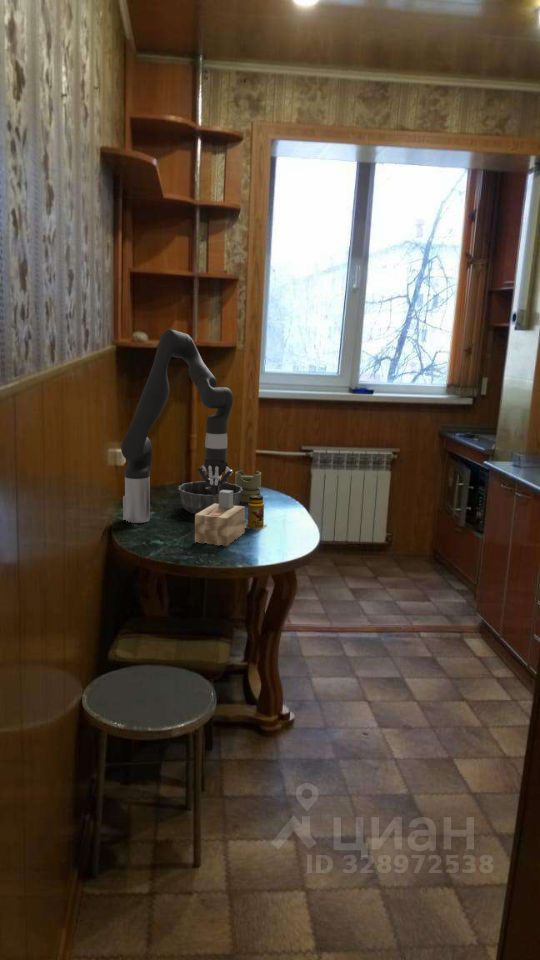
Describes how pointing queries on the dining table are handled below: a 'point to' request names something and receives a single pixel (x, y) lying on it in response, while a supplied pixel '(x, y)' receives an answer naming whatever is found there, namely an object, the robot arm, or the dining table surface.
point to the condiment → (255, 512)
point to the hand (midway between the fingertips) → (214, 495)
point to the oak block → (219, 525)
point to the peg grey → (226, 499)
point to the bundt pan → (205, 495)
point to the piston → (248, 484)
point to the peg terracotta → (215, 513)
